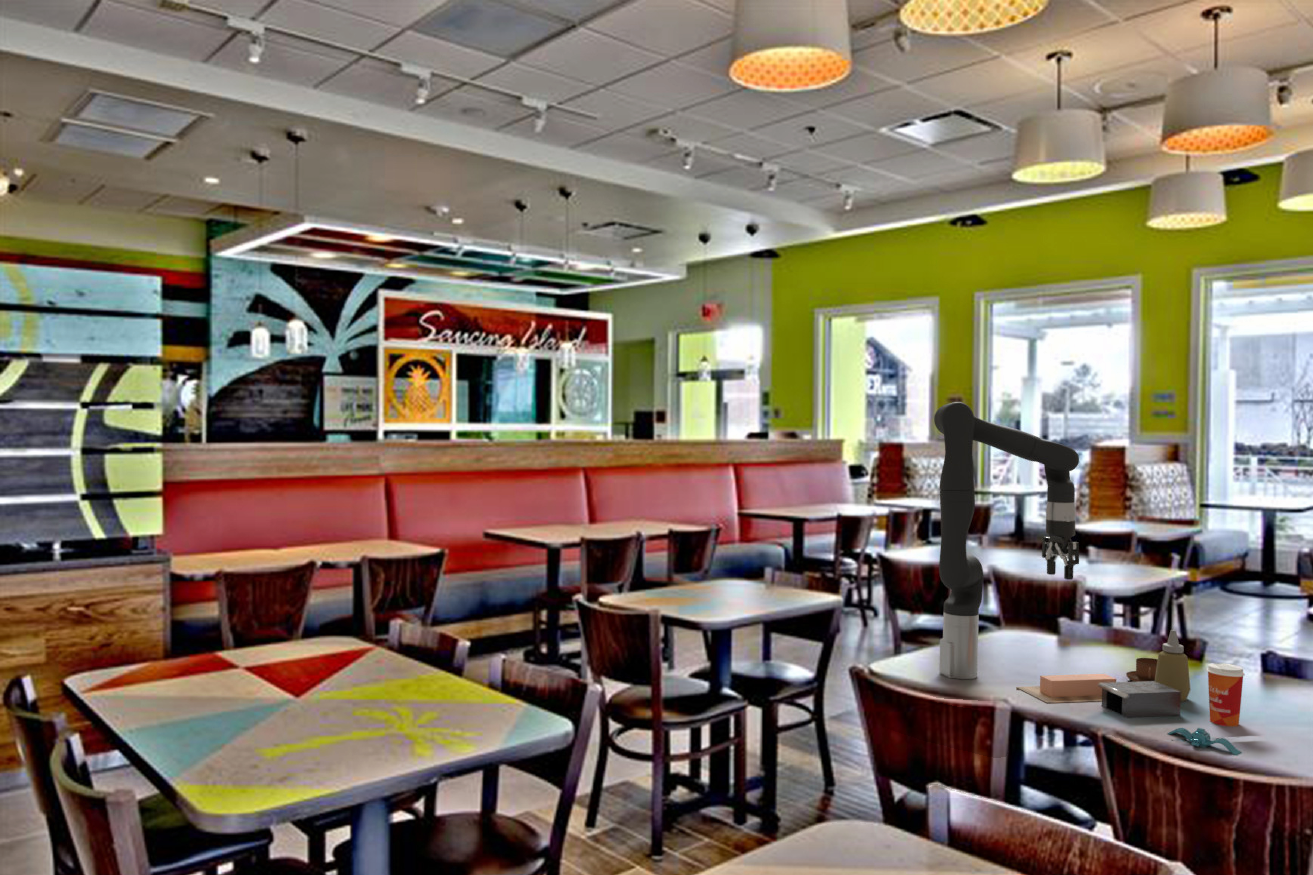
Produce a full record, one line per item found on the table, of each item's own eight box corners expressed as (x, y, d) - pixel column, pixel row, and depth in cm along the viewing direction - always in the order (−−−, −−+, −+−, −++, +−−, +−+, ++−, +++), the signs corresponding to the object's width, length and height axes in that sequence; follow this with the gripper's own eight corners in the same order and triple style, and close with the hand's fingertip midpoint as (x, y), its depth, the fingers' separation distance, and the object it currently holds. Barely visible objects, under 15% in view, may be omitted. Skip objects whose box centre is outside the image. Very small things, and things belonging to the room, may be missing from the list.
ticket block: (1051, 696, 240) (1051, 680, 240) (1039, 691, 245) (1040, 675, 245) (1116, 694, 243) (1116, 678, 243) (1103, 688, 248) (1103, 673, 248)
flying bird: (1157, 741, 211) (1157, 723, 211) (1169, 734, 216) (1170, 717, 216) (1233, 759, 200) (1233, 741, 200) (1244, 752, 205) (1244, 734, 205)
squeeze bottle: (1194, 707, 237) (1196, 634, 236) (1159, 704, 238) (1161, 632, 238) (1183, 698, 245) (1185, 628, 244) (1149, 695, 246) (1151, 626, 246)
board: (1046, 707, 235) (1047, 702, 235) (1016, 691, 248) (1016, 686, 248) (1142, 703, 239) (1142, 699, 239) (1106, 688, 253) (1107, 683, 253)
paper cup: (1197, 721, 225) (1199, 662, 225) (1228, 721, 226) (1229, 662, 225) (1220, 732, 217) (1221, 670, 217) (1251, 731, 218) (1253, 670, 218)
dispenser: (1124, 722, 224) (1124, 693, 224) (1097, 709, 234) (1098, 682, 233) (1180, 719, 226) (1181, 691, 226) (1152, 707, 236) (1152, 680, 236)
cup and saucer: (1182, 691, 252) (1182, 667, 252) (1133, 688, 254) (1133, 664, 254) (1167, 679, 264) (1168, 657, 264) (1120, 676, 266) (1121, 654, 266)
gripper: (1034, 516, 271) (1033, 573, 271) (1062, 520, 257) (1061, 581, 257) (1058, 515, 272) (1057, 572, 272) (1088, 520, 258) (1087, 580, 258)
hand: (1059, 576), depth 264 cm, fingers open, 8 cm apart
